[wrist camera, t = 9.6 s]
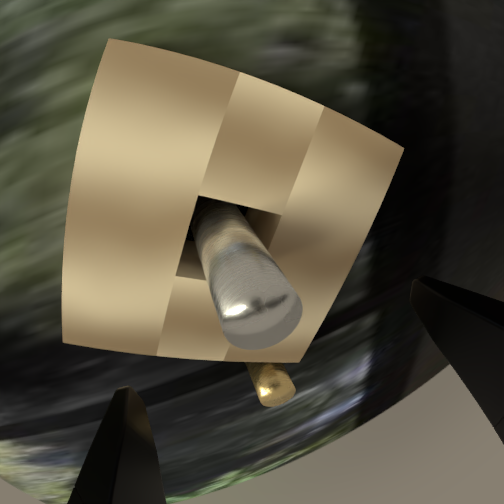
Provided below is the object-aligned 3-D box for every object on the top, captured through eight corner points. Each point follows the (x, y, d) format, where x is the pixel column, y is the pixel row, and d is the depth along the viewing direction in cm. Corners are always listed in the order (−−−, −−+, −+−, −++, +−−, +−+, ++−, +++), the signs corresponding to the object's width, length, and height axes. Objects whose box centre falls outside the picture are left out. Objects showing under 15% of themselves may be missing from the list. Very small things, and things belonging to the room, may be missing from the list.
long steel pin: (226, 237, 18) (283, 351, 11) (182, 229, 17) (212, 348, 10) (241, 195, 17) (315, 290, 10) (195, 184, 16) (237, 279, 9)
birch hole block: (277, 323, 23) (299, 362, 19) (74, 297, 17) (62, 342, 14) (360, 133, 17) (404, 148, 14) (120, 51, 12) (108, 38, 8)
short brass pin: (269, 367, 25) (286, 405, 22) (240, 367, 24) (255, 407, 21) (281, 345, 24) (301, 383, 21) (251, 344, 23) (268, 384, 20)
